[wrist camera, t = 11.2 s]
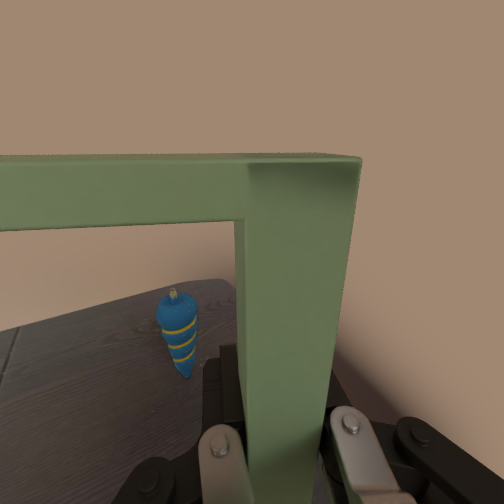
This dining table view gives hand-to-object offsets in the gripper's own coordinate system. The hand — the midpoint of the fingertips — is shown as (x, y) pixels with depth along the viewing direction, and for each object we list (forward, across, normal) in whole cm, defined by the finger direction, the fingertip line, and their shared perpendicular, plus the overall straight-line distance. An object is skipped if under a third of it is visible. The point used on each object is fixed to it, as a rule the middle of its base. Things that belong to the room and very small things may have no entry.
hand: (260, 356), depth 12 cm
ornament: (+20, +7, +23) cm, 31 cm away
